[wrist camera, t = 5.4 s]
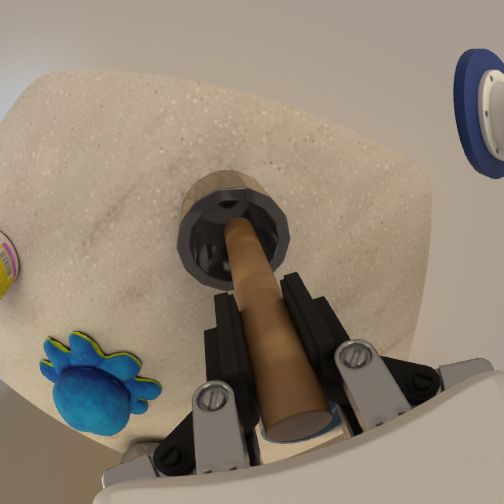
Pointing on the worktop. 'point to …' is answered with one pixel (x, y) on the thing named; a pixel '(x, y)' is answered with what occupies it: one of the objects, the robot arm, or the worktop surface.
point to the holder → (216, 218)
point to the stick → (273, 343)
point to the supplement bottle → (7, 264)
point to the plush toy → (96, 385)
